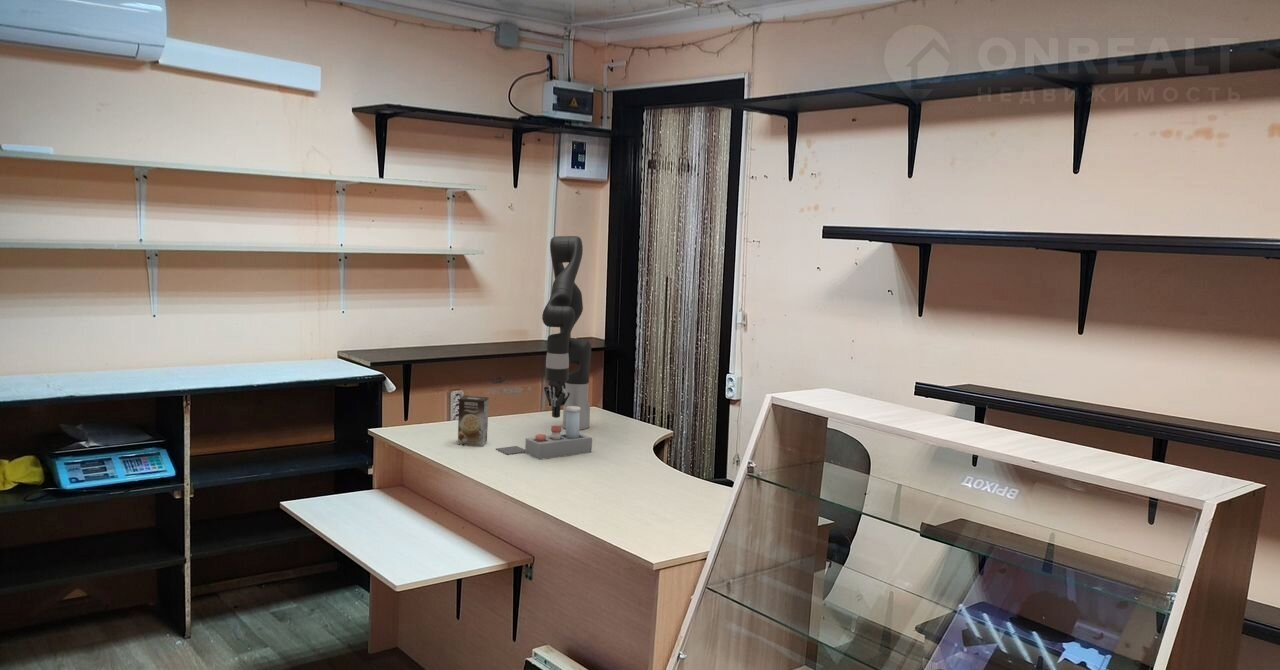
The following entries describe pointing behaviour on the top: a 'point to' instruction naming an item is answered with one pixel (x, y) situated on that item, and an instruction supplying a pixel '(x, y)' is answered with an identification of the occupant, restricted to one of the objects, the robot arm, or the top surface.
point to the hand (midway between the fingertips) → (555, 417)
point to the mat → (511, 450)
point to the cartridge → (572, 422)
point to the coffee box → (473, 420)
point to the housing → (558, 446)
